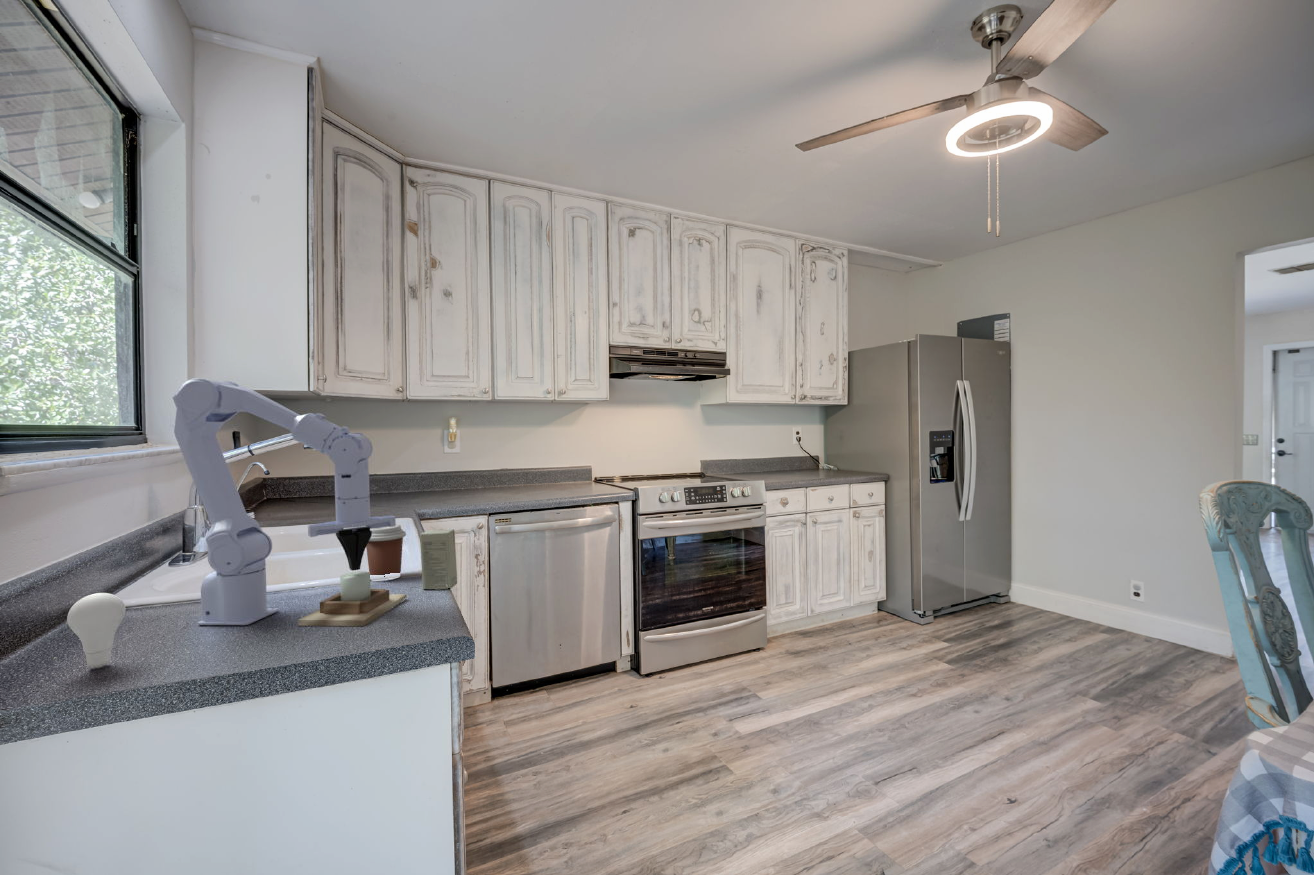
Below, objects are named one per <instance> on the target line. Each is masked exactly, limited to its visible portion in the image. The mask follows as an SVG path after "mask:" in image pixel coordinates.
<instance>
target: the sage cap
mask: <svg viewBox="0 0 1314 875" xmlns="http://www.w3.org/2000/svg"><path fill="white" fill-rule="evenodd" d="M339 578H340V580H339V582H340V583H339V585H340V586H339V587H340V592H341V601H364V600H366V599H367V598H369V597H371V589H372V588H371V586H372V585H371V581H370V572H369V571H355V572H354V571H353V572H348V573H345V574H341V575H340V577H339Z"/></svg>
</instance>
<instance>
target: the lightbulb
mask: <svg viewBox="0 0 1314 875" xmlns="http://www.w3.org/2000/svg"><path fill="white" fill-rule="evenodd" d="M125 615H126V604H125V603H124V600H122V599H121V598H120V597H119V596H118V595H115V594H112V593H110V592H109V593H108V592H97V593H96V592H95V593H93V594H89V595H86V596H83V597H82V598H80V599H78V600H77V601H76V602H75V603H74V604H73V605H72V606H71V608H70V609H69V611H68V613H67V617H66V621H67V625H68V626H69V628H70V629H71V630H72V632H73V633H74V634H75V635H76V636H77V637H78V639H79V640H80V643H81V645H82V651H83V653H85V658H86V659H85V660H86V665H87V666H88V667H91V668H94V669H100V668H102V667H105V665H106V664H108V663H110V662H111V660H112V648H113V647H114V639H115V636H116V635H115V634H116V632H117V630H118V628H119V627H120V625H121V624H122V622H123V620H124V617H125Z"/></svg>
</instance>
